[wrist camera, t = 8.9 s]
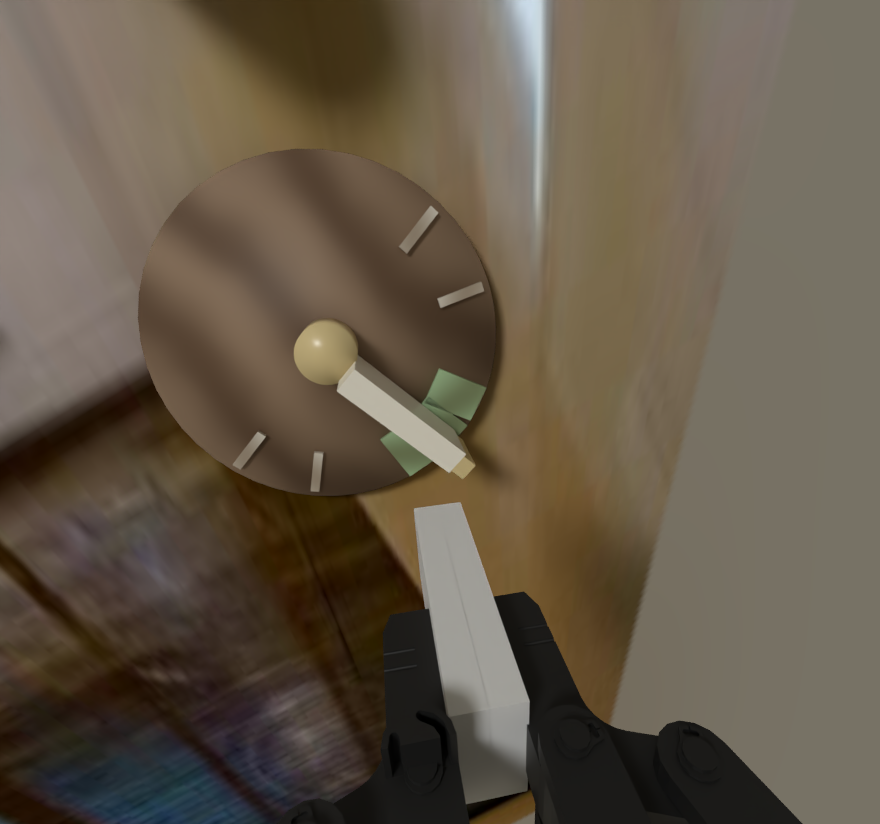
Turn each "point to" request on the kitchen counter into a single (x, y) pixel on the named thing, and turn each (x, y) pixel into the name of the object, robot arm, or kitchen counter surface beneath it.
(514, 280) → the kitchen counter surface
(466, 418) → the dial
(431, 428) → the white bar with ball
